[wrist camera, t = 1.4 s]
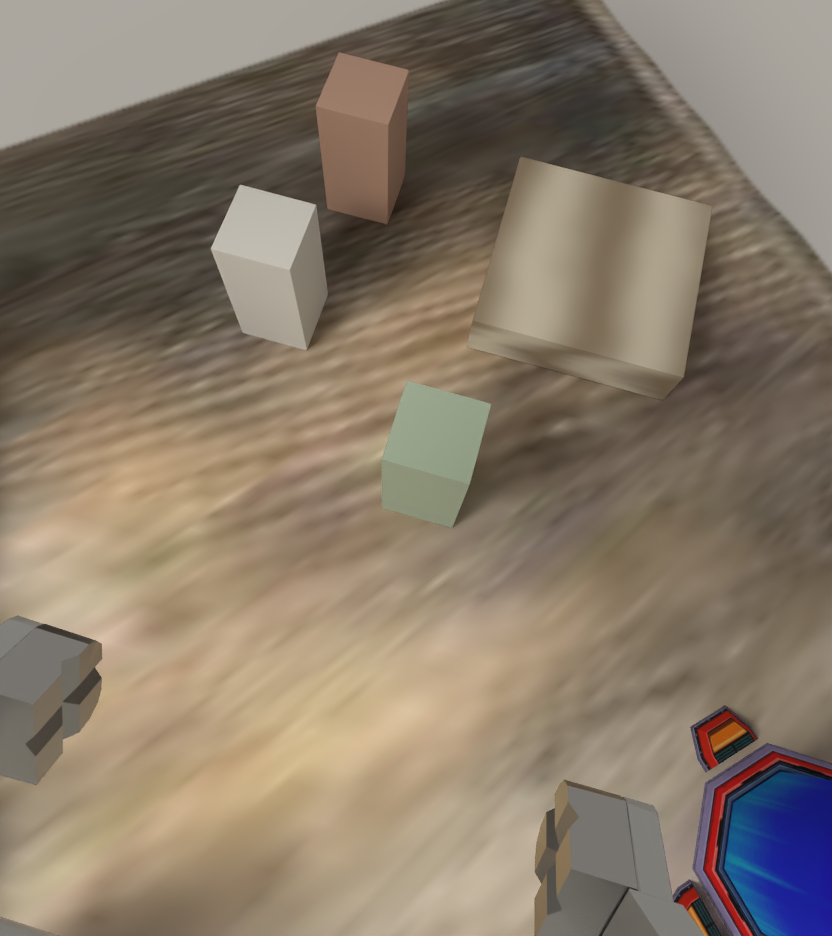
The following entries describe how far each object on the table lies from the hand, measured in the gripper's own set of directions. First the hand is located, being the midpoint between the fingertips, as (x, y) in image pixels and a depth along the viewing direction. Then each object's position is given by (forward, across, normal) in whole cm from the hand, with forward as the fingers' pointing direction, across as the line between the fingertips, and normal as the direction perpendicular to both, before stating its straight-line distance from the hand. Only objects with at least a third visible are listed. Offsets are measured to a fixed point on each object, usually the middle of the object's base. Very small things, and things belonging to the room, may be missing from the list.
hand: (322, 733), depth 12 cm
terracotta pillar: (+38, +9, -5) cm, 40 cm away
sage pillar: (+26, 0, +8) cm, 27 cm away
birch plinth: (+36, -6, -2) cm, 37 cm away
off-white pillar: (+31, +11, +2) cm, 33 cm away
